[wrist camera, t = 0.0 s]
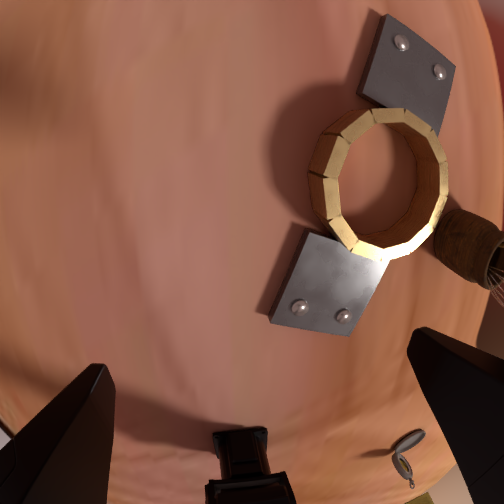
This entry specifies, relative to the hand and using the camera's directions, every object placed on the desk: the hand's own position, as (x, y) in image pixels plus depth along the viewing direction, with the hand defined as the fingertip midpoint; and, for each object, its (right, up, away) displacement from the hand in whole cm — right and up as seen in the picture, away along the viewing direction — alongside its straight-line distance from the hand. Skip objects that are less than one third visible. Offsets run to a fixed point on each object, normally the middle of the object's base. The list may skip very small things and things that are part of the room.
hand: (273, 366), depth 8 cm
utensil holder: (+19, +5, +17) cm, 27 cm away
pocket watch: (+28, -33, +34) cm, 55 cm away
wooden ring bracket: (+9, +9, +14) cm, 19 cm away
